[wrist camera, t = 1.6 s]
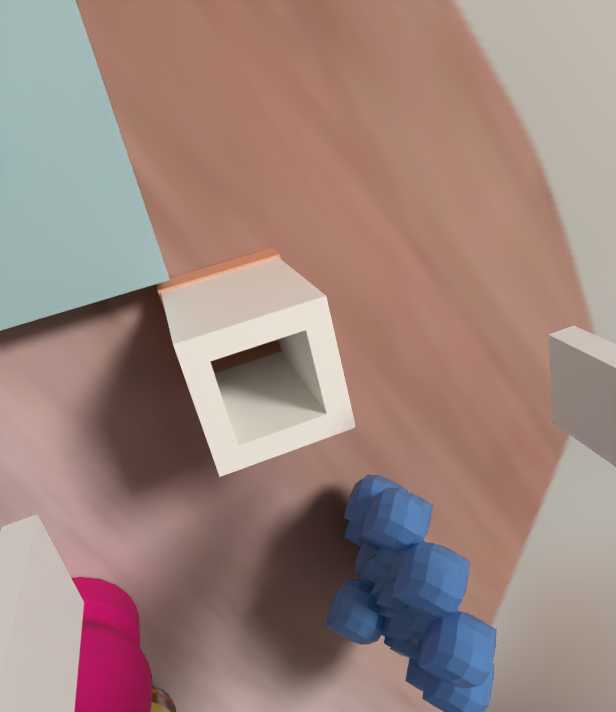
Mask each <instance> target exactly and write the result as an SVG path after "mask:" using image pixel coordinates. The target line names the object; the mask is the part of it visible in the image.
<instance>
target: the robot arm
mask: <svg viewBox="0 0 616 712" xmlns="http://www.w3.org/2000/svg"><path fill="white" fill-rule="evenodd" d="M549 353H550V371H551V389H552V407H553V423H554V424H555V425H557V426H558V427H560V428H561V429H562V430H564V431H565V432H567V433H568V434H570V435H571V436H572V437H574V438H575V439H577V440H578V441H580V442H581V443H582V444H584V445H586V446H587V447H588V448H590V449H591V450H592V451H594V452H595V453H597V454H598V455H600V456H601V457H603V458H604V459H606V460H607V461H608V462H610V463H611V464H613V465H614V466H615V467H616V344H614V343H611V342H609V341H607V340H605V339H602V338H600V337H598V336H596V335H593V334H591V333H589V332H587V331H585V330H582V329H580V328H578V327H576V326H572V327H569V328H566V329H563V330H560V331H557V332H554V333H552V334H549ZM83 608H84V601H83V599H82V597H81V596H80V594H79V592H78V590H77V588H76V586H75V584H74V582H73V581H72V579H71V577H70V575H69V573H68V571H67V569H66V567H65V565H64V564H63V562H62V560H61V558H60V556H59V554H58V552H57V550H56V549H55V547H54V545H53V543H52V541H51V539H50V537H49V535H48V534H47V532H46V530H45V528H44V526H43V524H42V522H41V520H40V519H39V517H38V515H34V516H31V517H28V518H25V519H23V520H20V521H17V522H14V523H11V524H8V525H6V526H3V527H2V529H1V532H0V712H74V710H75V698H76V687H77V676H78V664H79V653H80V642H81V631H82V619H83Z"/></svg>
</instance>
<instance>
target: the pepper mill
mask: <svg viewBox="0 0 616 712" xmlns="http://www.w3.org/2000/svg"><path fill="white" fill-rule="evenodd" d="M71 579H72V581H73V582H74V584H75V586H76V588H77V590H78V592H79V594H80V596H81V597H82V599H83V601H84V608H83V619H82V631H81V642H80V653H79V664H78V676H77V687H76V698H75V710H74V712H151V704H152V675H151V671H150V667H149V663H148V661H147V659H146V657H145V655H144V654H143V652H142V651H141V649H140V648H139V645H140V633H139V615H138V611H137V608H136V605H135V603H134V602H133V600H132V599H131V597H130V596H129V595H128V594H127V593H126V592H125V591H123V590H122V589H121V588H119V587H118V586H116V585H114V584H111V583H109V582H106V581H104V580H101V579H95V578H85V577H78V578H71Z"/></svg>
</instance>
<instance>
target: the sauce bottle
mask: <svg viewBox="0 0 616 712" xmlns="http://www.w3.org/2000/svg"><path fill="white" fill-rule="evenodd" d="M151 712H176V707H175V705H174V702H173V700H172V699H171V698H170V697H169V695H168V694H166V692H164V690H161V689H156V688H155V687H154V686H152V704H151Z"/></svg>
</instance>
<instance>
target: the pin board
mask: <svg viewBox="0 0 616 712" xmlns="http://www.w3.org/2000/svg"><path fill="white" fill-rule="evenodd" d="M168 280H170V279H169V276H168V272H167V269H166V266H165V263H164V260H163V257H162V254H161V251H160V248H159V246H158V243H157V240H156V237H155V234H154V231H153V228H152V225H151V222H150V219H149V216H148V213H147V210H146V207H145V204H144V201H143V198H142V195H141V192H140V189H139V186H138V183H137V180H136V177H135V175H134V172H133V169H132V166H131V163H130V160H129V157H128V154H127V151H126V148H125V145H124V142H123V139H122V136H121V133H120V130H119V127H118V124H117V121H116V118H115V115H114V112H113V109H112V106H111V104H110V101H109V98H108V95H107V92H106V89H105V86H104V83H103V80H102V77H101V74H100V71H99V68H98V65H97V62H96V59H95V56H94V53H93V50H92V47H91V44H90V41H89V38H88V35H87V33H86V30H85V27H84V24H83V21H82V18H81V15H80V12H79V9H78V6H77V3H76V0H0V331H1V330H4V329H7V328H11V327H14V326H17V325H21V324H24V323H28V322H31V321H34V320H38V319H41V318H44V317H48V316H51V315H54V314H58V313H61V312H64V311H68V310H71V309H74V308H78V307H81V306H84V305H88V304H91V303H94V302H98V301H101V300H104V299H108V298H111V297H115V296H118V295H121V294H125V293H128V292H131V291H135V290H138V289H141V288H145V287H148V286H151V285H155V284H158V283H161V282H165V281H168Z"/></svg>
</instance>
